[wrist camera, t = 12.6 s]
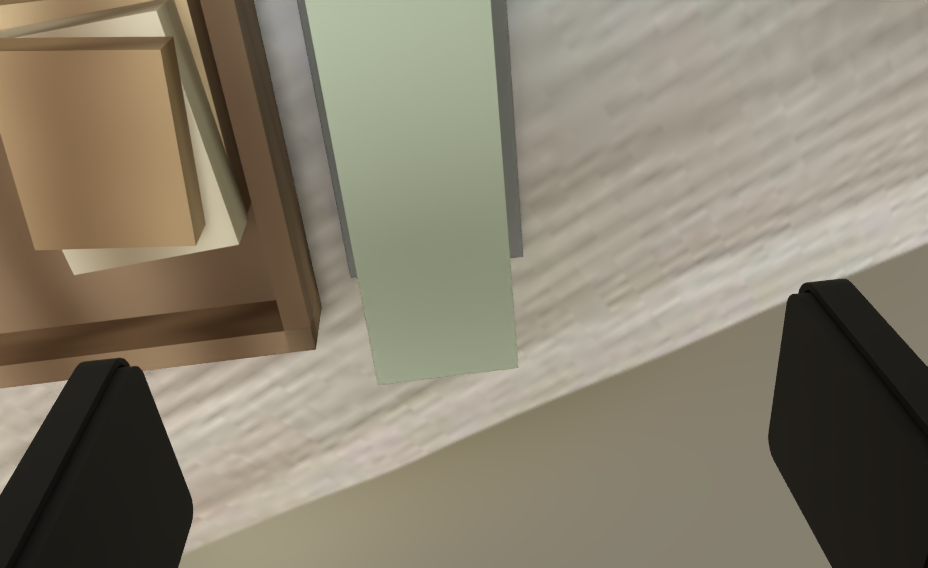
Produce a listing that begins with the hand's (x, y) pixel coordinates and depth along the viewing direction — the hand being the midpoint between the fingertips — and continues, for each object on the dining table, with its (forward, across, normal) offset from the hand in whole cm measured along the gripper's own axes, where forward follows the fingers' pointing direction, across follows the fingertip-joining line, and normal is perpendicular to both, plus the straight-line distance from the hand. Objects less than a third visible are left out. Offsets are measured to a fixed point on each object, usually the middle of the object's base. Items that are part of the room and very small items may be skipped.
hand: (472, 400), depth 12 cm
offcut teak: (+14, +10, 0) cm, 18 cm away
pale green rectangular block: (+19, +1, +1) cm, 19 cm away
